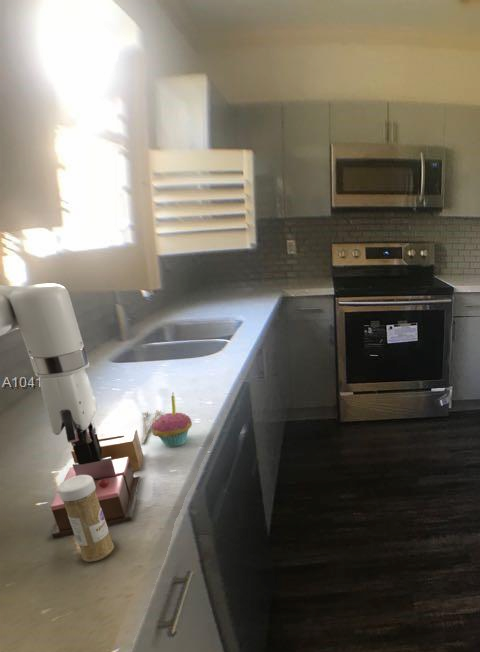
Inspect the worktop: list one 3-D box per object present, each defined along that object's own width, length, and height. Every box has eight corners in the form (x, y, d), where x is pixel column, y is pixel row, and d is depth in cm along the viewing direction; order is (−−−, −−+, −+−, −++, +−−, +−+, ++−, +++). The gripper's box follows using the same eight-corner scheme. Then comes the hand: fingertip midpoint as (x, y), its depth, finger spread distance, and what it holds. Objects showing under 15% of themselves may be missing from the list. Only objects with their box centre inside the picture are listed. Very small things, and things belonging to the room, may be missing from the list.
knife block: (80, 481, 93) (70, 451, 90) (87, 466, 98) (78, 438, 96) (140, 470, 96) (132, 441, 94) (143, 456, 102) (136, 428, 99)
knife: (84, 504, 83) (61, 436, 78) (86, 499, 85) (63, 432, 79) (121, 496, 85) (101, 429, 80) (122, 491, 86) (102, 425, 81)
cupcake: (178, 431, 113) (167, 386, 108) (203, 437, 109) (193, 391, 105) (147, 447, 105) (135, 399, 101) (173, 454, 102) (162, 406, 97)
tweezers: (143, 415, 122) (141, 409, 121) (162, 412, 123) (160, 406, 122) (133, 450, 107) (131, 443, 106) (155, 446, 108) (153, 439, 107)
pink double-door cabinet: (53, 538, 77) (39, 501, 74) (73, 492, 89) (62, 460, 87) (131, 520, 81) (121, 485, 78) (140, 479, 93) (132, 447, 90)
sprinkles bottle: (116, 554, 73) (93, 483, 68) (82, 567, 71) (57, 494, 66) (112, 539, 76) (91, 470, 71) (81, 550, 74) (56, 480, 69)
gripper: (47, 351, 81) (77, 443, 87) (16, 381, 67) (54, 487, 74) (96, 345, 83) (121, 435, 90) (75, 373, 69) (106, 477, 76)
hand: (90, 458), depth 82 cm, fingers closed on knife, 1 cm apart
